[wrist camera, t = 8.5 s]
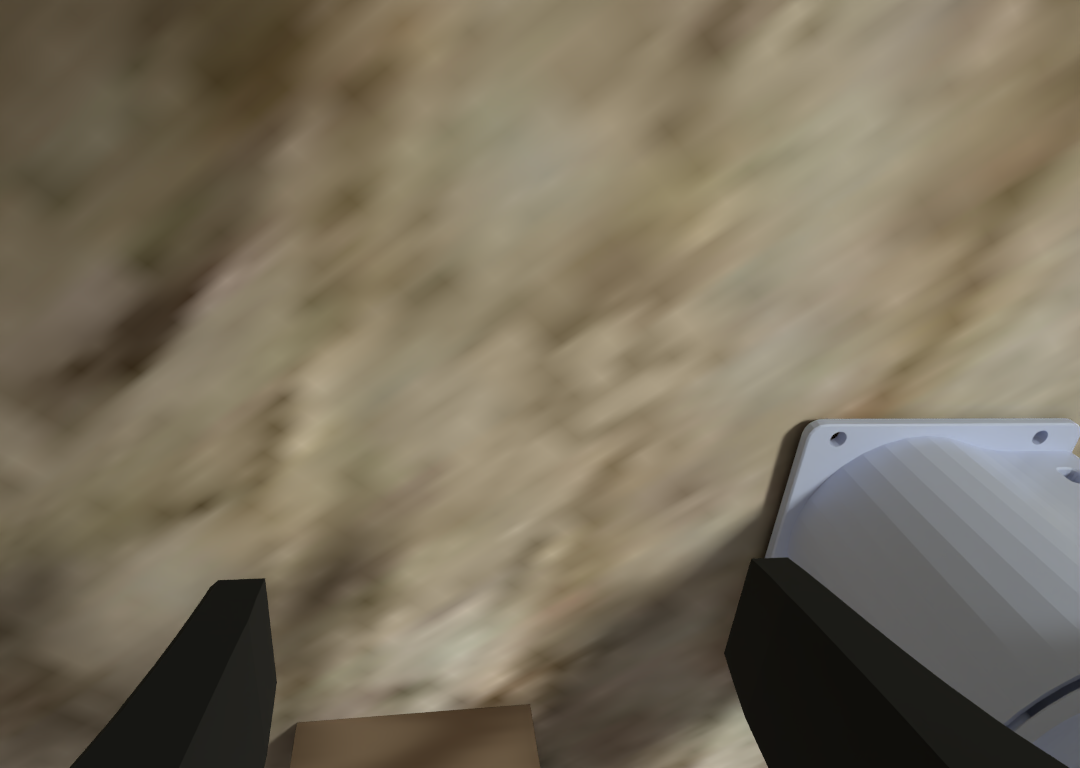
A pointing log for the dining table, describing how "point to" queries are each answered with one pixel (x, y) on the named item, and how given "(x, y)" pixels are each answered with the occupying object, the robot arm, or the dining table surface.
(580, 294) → the dining table surface
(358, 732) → the walnut block
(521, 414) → the dining table surface
